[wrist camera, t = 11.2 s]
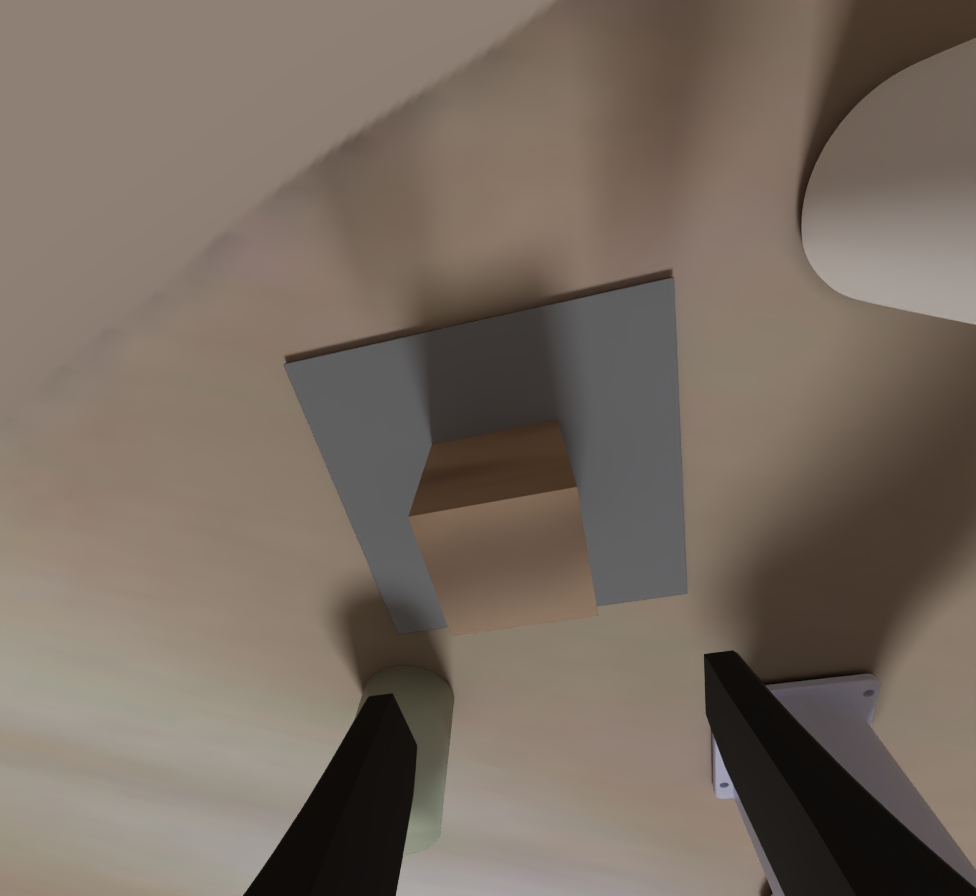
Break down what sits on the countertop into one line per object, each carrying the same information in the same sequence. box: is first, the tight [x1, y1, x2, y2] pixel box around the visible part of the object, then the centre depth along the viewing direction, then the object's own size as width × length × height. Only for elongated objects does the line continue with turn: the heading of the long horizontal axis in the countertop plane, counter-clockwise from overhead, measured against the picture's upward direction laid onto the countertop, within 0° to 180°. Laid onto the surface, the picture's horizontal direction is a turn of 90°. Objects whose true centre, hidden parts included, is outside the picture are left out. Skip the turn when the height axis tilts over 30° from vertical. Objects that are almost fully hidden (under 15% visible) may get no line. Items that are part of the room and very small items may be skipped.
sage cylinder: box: [355, 666, 454, 855], centre depth 22 cm, size 5×5×6 cm
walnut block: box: [408, 420, 598, 636], centre depth 16 cm, size 5×5×5 cm
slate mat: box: [284, 277, 687, 634], centre depth 19 cm, size 14×14×1 cm
